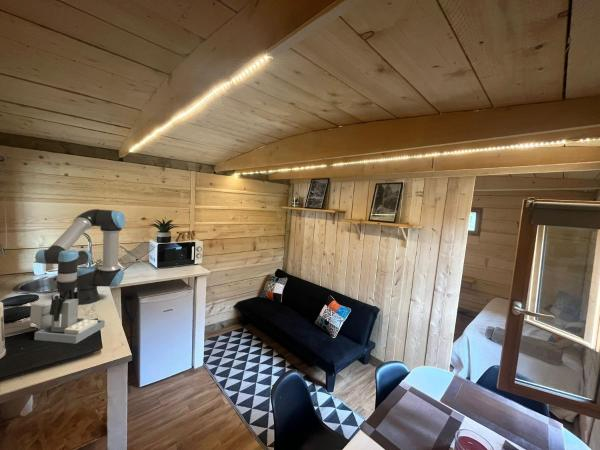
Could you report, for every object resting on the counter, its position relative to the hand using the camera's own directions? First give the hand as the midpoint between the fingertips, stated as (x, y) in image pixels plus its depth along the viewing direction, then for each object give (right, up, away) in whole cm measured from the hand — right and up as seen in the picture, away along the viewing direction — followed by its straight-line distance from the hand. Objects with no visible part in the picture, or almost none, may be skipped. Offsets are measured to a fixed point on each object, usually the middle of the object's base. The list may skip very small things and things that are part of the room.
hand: (64, 323), depth 130 cm
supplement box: (-17, -4, +6) cm, 19 cm away
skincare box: (0, -3, 0) cm, 4 cm away
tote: (+4, -6, 0) cm, 7 cm away
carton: (+9, -6, 0) cm, 10 cm away
